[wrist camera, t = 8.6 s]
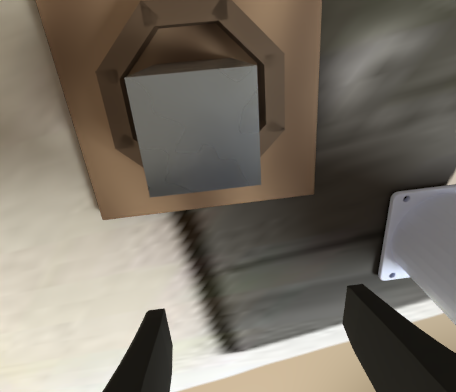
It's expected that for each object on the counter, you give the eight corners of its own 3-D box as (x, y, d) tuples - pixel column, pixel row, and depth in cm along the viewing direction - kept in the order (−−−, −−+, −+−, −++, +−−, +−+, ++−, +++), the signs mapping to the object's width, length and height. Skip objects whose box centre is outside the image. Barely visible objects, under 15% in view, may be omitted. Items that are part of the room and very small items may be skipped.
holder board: (317, -65, 15) (343, -89, 13) (309, 188, 22) (325, 208, 19) (30, -43, 15) (-6, -63, 12) (106, 212, 21) (93, 237, 18)
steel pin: (229, 57, 17) (256, 64, 9) (235, 130, 18) (261, 184, 11) (154, 64, 16) (124, 77, 9) (167, 138, 18) (149, 197, 11)
